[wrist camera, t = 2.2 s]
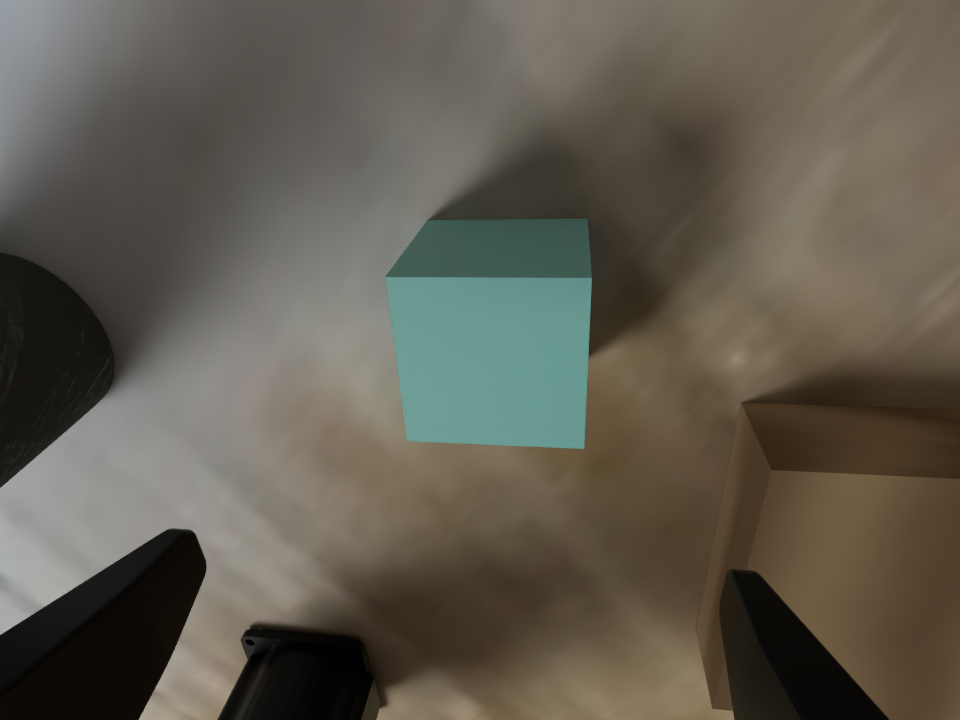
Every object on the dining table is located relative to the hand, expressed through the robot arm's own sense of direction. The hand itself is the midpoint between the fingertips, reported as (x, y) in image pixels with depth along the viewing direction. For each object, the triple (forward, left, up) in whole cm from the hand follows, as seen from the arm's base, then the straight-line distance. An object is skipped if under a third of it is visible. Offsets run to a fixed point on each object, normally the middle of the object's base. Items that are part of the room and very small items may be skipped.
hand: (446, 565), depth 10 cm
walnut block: (+14, -10, -12) cm, 21 cm away
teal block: (0, 0, -11) cm, 11 cm away
